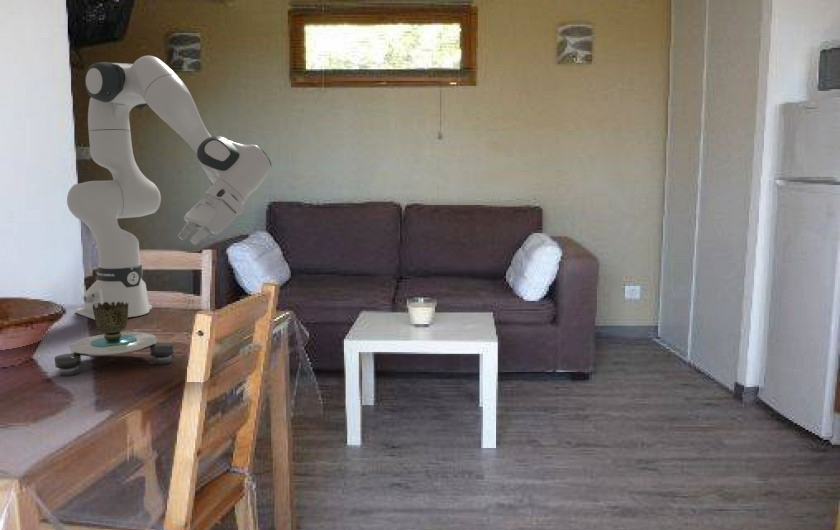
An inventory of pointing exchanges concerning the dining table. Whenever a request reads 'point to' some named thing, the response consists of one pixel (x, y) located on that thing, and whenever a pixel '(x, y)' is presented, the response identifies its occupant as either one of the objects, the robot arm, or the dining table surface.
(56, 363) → the leveling base
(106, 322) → the cup
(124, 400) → the dining table surface
